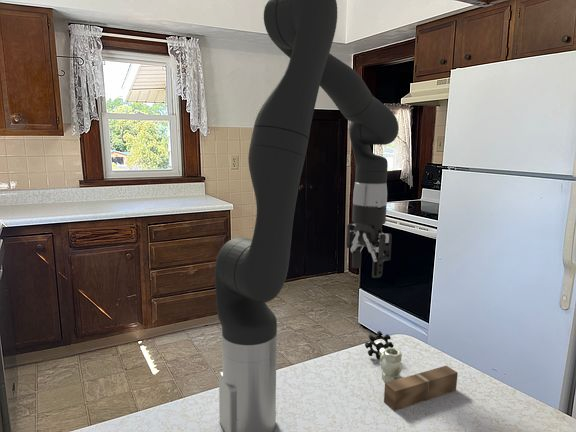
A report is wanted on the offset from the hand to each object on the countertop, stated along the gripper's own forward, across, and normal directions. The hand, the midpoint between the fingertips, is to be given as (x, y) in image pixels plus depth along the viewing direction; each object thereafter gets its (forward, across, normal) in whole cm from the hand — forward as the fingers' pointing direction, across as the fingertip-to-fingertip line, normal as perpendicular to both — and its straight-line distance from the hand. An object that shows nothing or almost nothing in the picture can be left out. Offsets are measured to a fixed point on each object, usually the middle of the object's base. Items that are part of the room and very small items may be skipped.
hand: (366, 272), depth 98 cm
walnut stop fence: (+20, +20, 0) cm, 28 cm away
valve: (+20, +9, 0) cm, 22 cm away
